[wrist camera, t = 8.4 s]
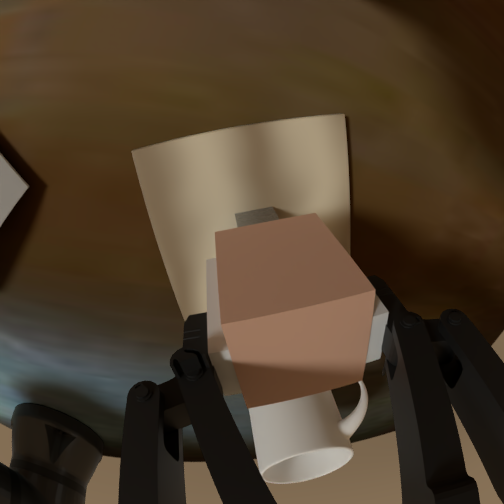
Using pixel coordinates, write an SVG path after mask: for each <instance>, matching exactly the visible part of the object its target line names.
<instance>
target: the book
mask: <svg viewBox="0 0 504 504" xmlns="http://www.w3.org/2000/svg"><path fill="white" fill-rule="evenodd" d="M28 188H29V185H28V184H27V183H26V182H25V181H24V179H23V178H22V177H21V176H20V175H19V174H18V173H17V171H16V170H15V169H14V168H13V167H12V166H11V164H10V163H9V162H8V161H7V160H6V159H5V157H4V156H3V155H2V154H1V153H0V227H1V226H2V224H3V222H4V221H5V219H6V218H7V216H8V215H9V213H10V212H11V211H12V209H13V208H14V206H15V205H16V204H17V202H18V201H19V200H20V198H21V197H22V196H23V194H24V193H25V192H26V190H27V189H28Z"/></svg>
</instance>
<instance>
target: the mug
mask: <svg viewBox="0 0 504 504" xmlns="http://www.w3.org/2000/svg"><path fill="white" fill-rule="evenodd" d="M359 385H360V388H361V397H360V400H359V403H358V405H357V407H356V408H355V410H354V411H353V412H352V413H351V414H350V415H348V416H347V417H346V418H344V419H342V418H341V416H340V413H339V410H338V408H337V405H336V402H335V400H334V397H333V395H332V392H331V390H328V391H325V392H321V393H317V394H313V395H309V396H305V397H301V398H297V399H293V400H288V401H284V402H279V403H274V404H269V405H264V406H259V407H254V408H249V413H250V419H251V426H252V432H253V438H254V444H255V450H256V456H257V461H258V467H259V472H260V474H261V476H262V477H263V479H264V481H266V482H269V483H276V484H287V483H297V482H303V481H307V480H311V479H315V478H318V477H321V476H324V475H326V474H329V473H331V472H333V471H335V470H337V469H339V468H340V467H342V466H343V465H345V464H346V463H347V462H349V461H350V460H351V458H352V457H353V455H354V450H353V448H352V445H351V443H350V440H349V438H350V437H351V436H352V434H353V433H354V432H355V431H356V429H357V428H358V427H359V425H360V424H361V422H362V420H363V418H364V416H365V413H366V410H367V406H368V394H367V389H366V387H365V384H364V382H363V381H359Z"/></svg>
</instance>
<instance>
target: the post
mask: <svg viewBox="0 0 504 504" xmlns="http://www.w3.org/2000/svg"><path fill="white" fill-rule="evenodd" d="M235 218H236V223H237V227H242V226H248V225H253V224H258V223H263V222H268V221H274V220H279V217H278V216H277V214H276V212H275V210H274V208H273V207H267V208H261V209H256V210H251V211H246V212H240V213H235Z"/></svg>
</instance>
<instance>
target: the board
mask: <svg viewBox="0 0 504 504" xmlns="http://www.w3.org/2000/svg"><path fill="white" fill-rule="evenodd" d="M131 152H132V156H133V159H134V163H135V167H136V171H137V175H138V179H139V182H140V186H141V189H142V193H143V197H144V200H145V204H146V207H147V210H148V214H149V217H150V220H151V224H152V227H153V230H154V234H155V237H156V240H157V243H158V246H159V249H160V252H161V255H162V258H163V261H164V264H165V267H166V270H167V273H168V276H169V279H170V282H171V285H172V288H173V290H174V293H175V296H176V299H177V302H178V304H179V307H180V310H181V312H182V315H183V318H184V320H185V321H186V320H187V318H188V316H189V315H193V314H199V313H204V312H207V286H206V260H207V259H212V258H216V247H215V232H217V231H222V230H227V229H232V228H237V223H236V218H235V213H240V212H246V211H251V210H256V209H261V208H267V207H273V208H274V210H275V212H276V214H277V216H278V217H279V219H284V218H290V217H295V216H301V215H306V214H312V213H316V214H317V215H318V217H319V218H320V219H321V220H322V221H323V223H324V224H325V225H326V226H327V228H328V229H329V230H330V231H331V233H332V234H333V235H334V236H335V238H336V239H337V240H338V241H339V243H340V244H341V245H342V246H343V248H344V249H345V250H346V251H347V253H348V254H349V255H350V189H349V167H348V150H347V136H346V124H345V114H330V115H318V116H308V117H299V118H290V119H282V120H275V121H268V122H261V123H254V124H248V125H242V126H236V127H231V128H225V129H220V130H215V131H210V132H205V133H200V134H195V135H191V136H186V137H182V138H177V139H173V140H169V141H165V142H161V143H157V144H153V145H149V146H145V147H142V148H138V149H134V150H133V151H131Z"/></svg>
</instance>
